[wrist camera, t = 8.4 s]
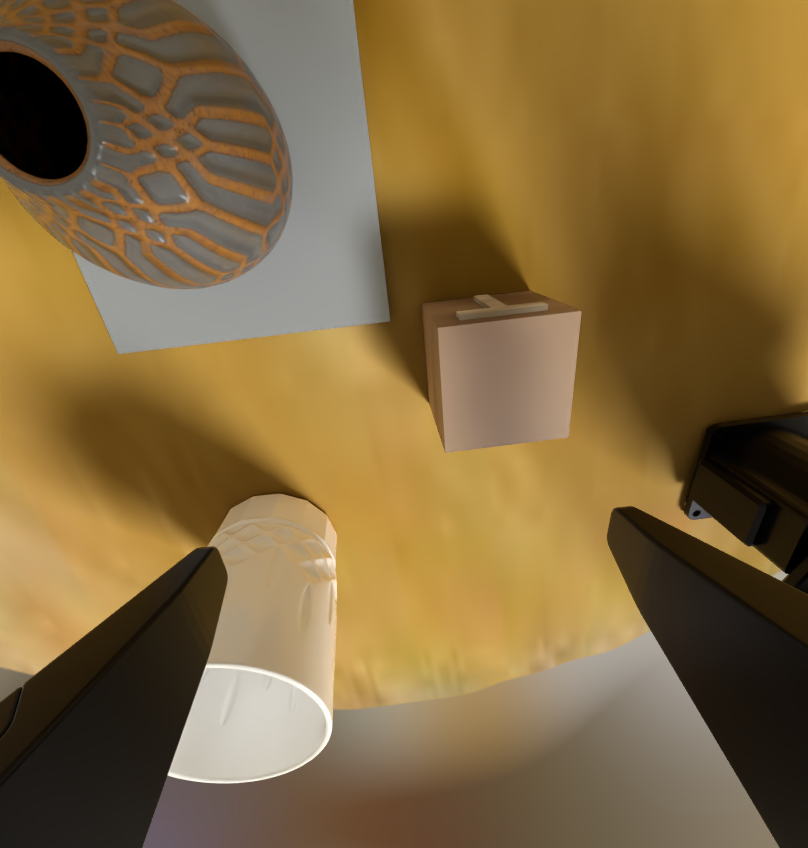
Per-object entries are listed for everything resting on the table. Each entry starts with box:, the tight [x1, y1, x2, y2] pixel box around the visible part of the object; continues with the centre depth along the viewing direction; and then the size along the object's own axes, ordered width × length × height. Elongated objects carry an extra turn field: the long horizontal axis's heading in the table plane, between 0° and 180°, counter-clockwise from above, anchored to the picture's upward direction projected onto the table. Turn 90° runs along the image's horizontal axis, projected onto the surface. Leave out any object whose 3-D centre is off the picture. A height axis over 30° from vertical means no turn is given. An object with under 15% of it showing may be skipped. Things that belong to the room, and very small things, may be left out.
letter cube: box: [422, 291, 582, 453], centre depth 17 cm, size 5×5×5 cm
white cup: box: [167, 494, 337, 783], centre depth 19 cm, size 8×8×10 cm
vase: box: [0, 0, 293, 289], centre depth 11 cm, size 7×7×9 cm
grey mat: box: [0, 0, 390, 354], centre depth 15 cm, size 12×12×1 cm
